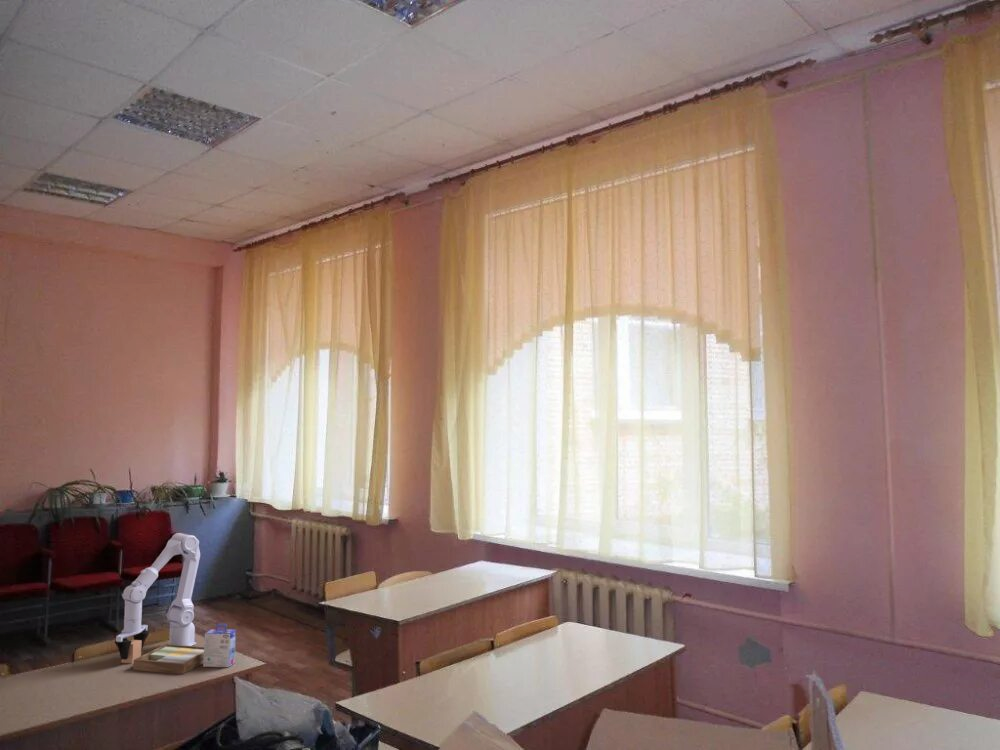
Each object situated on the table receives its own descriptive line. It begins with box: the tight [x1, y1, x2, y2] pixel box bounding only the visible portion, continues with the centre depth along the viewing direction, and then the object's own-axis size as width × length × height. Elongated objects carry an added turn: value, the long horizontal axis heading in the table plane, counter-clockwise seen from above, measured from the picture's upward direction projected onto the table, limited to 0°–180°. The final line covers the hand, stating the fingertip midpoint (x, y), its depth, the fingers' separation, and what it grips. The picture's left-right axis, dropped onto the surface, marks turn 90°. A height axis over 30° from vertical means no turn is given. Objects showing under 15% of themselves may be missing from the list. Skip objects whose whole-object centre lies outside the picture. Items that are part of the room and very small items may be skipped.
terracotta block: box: [120, 639, 142, 664], centre depth 260 cm, size 5×5×7 cm
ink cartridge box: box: [202, 623, 237, 668], centre depth 257 cm, size 10×6×14 cm, turn 88°
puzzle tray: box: [132, 643, 204, 675], centre depth 258 cm, size 18×20×4 cm
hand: (131, 655), depth 260 cm, fingers open, 7 cm apart
